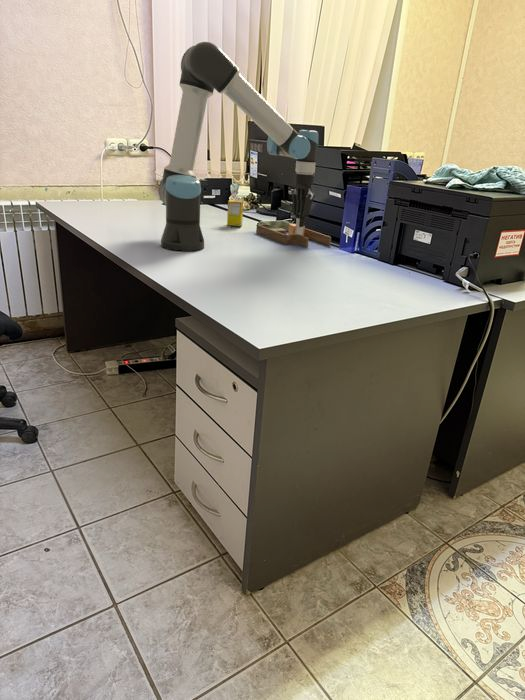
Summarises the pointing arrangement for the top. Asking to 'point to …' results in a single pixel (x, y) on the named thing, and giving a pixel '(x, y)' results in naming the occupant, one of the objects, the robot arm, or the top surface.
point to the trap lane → (279, 230)
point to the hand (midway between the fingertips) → (298, 234)
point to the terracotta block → (293, 227)
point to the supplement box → (235, 213)
